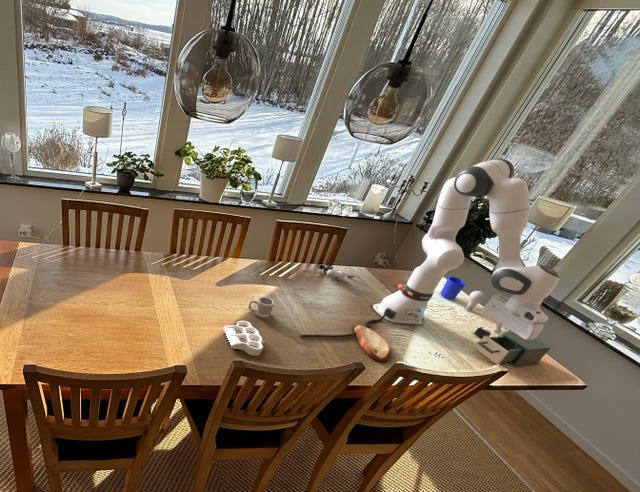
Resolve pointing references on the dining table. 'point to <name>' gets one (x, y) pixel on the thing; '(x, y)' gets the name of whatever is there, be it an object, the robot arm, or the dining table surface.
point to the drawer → (499, 349)
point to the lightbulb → (475, 299)
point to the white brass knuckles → (244, 337)
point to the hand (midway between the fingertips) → (498, 334)
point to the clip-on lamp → (333, 272)
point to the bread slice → (372, 343)
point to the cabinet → (528, 349)
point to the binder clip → (482, 332)
